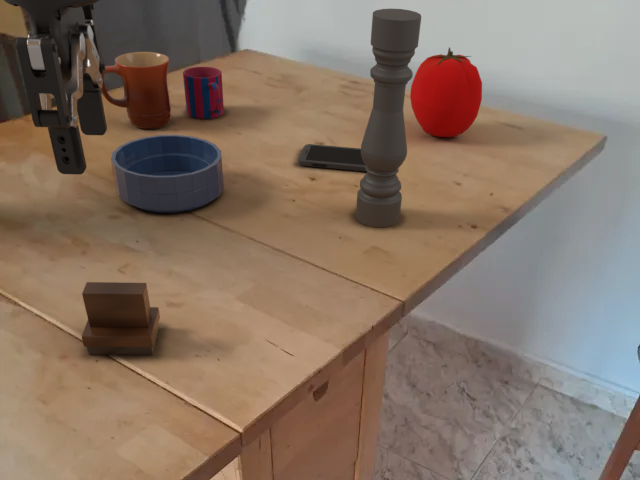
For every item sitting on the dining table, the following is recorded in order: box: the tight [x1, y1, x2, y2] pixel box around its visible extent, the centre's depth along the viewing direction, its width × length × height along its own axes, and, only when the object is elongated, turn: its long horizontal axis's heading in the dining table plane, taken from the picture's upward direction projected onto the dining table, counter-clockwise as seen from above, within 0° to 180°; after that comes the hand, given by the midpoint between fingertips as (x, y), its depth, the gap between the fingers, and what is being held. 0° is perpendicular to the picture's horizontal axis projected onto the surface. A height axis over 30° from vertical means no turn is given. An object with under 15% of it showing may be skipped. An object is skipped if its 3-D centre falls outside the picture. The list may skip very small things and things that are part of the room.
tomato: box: [409, 47, 483, 138], centre depth 116 cm, size 12×12×13 cm
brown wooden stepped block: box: [81, 281, 161, 356], centre depth 71 cm, size 7×6×6 cm
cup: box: [182, 66, 225, 120], centre depth 121 cm, size 7×10×7 cm
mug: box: [99, 51, 172, 130], centre depth 116 cm, size 12×9×10 cm
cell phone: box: [297, 143, 367, 173], centre depth 110 cm, size 7×14×1 cm, turn 81°
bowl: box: [110, 134, 225, 214], centre depth 98 cm, size 15×15×6 cm
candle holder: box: [355, 8, 422, 228], centre depth 88 cm, size 6×6×25 cm
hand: (84, 152), depth 59 cm, fingers open, 8 cm apart
